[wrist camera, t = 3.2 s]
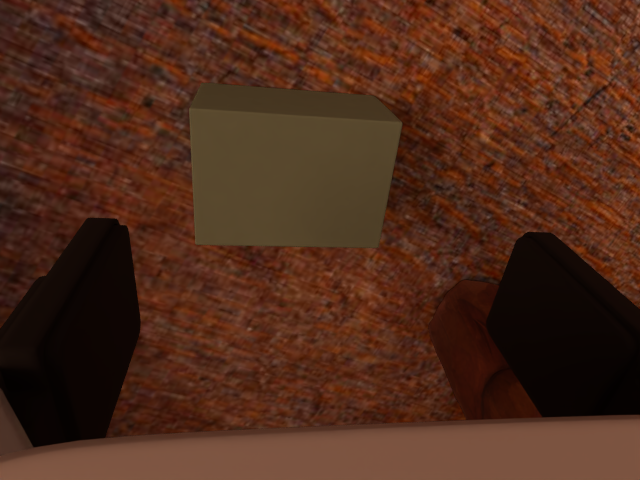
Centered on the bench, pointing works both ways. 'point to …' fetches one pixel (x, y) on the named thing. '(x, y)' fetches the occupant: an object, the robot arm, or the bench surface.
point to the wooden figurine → (476, 356)
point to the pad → (290, 166)
